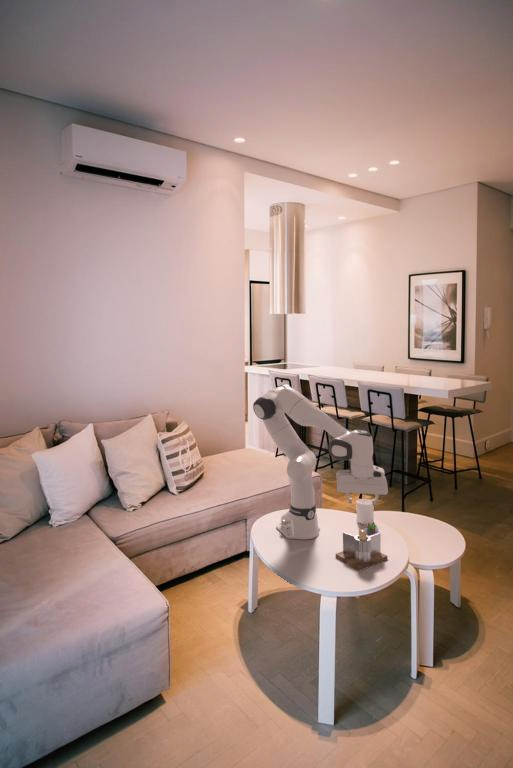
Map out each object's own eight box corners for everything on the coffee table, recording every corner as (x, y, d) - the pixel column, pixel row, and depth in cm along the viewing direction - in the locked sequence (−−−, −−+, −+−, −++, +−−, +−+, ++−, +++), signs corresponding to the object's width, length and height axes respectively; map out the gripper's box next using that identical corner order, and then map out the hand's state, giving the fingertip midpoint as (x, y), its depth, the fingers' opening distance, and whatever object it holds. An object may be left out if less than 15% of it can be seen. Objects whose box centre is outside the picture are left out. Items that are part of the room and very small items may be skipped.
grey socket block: (340, 552, 198) (340, 531, 197) (363, 544, 205) (362, 524, 204) (362, 564, 187) (362, 542, 186) (385, 555, 194) (385, 534, 193)
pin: (357, 558, 192) (357, 530, 191) (363, 556, 193) (362, 528, 192) (363, 561, 189) (362, 532, 188) (368, 559, 191) (368, 531, 190)
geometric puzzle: (383, 536, 210) (378, 519, 214) (369, 538, 208) (364, 521, 212) (377, 540, 216) (371, 523, 220) (363, 542, 214) (358, 525, 218)
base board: (335, 557, 197) (335, 553, 197) (363, 547, 205) (363, 543, 205) (359, 570, 185) (359, 566, 185) (387, 559, 193) (387, 555, 193)
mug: (349, 517, 240) (349, 497, 239) (363, 514, 242) (363, 495, 241) (362, 525, 228) (362, 505, 227) (377, 523, 231) (376, 503, 230)
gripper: (335, 471, 187) (335, 504, 188) (388, 473, 182) (388, 507, 184) (336, 467, 193) (336, 499, 194) (387, 469, 189) (387, 502, 190)
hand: (362, 503), depth 189 cm, fingers open, 8 cm apart
